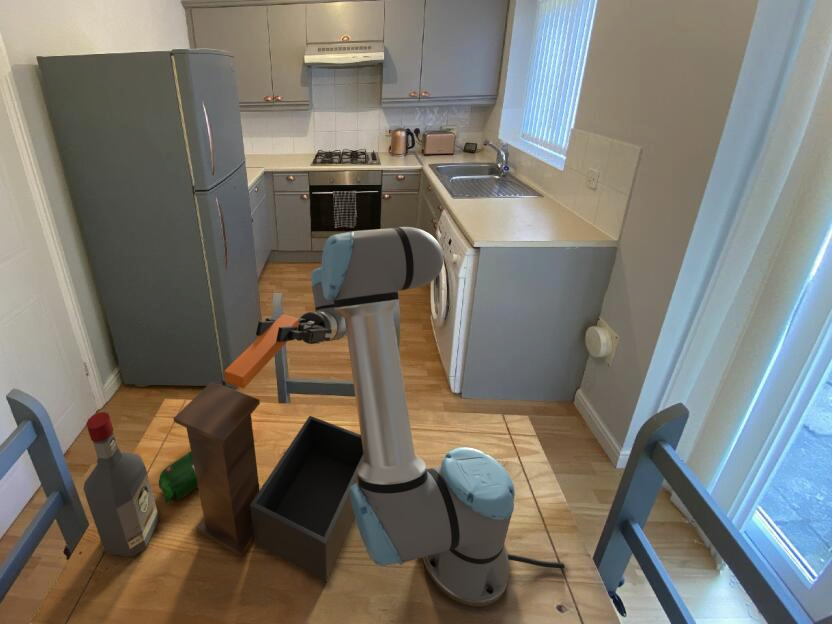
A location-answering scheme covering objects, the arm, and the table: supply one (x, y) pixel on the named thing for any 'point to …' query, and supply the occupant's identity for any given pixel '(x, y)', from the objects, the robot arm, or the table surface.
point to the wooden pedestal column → (223, 463)
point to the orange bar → (258, 353)
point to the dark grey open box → (310, 498)
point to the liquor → (119, 493)
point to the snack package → (178, 478)
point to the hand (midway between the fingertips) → (269, 331)
